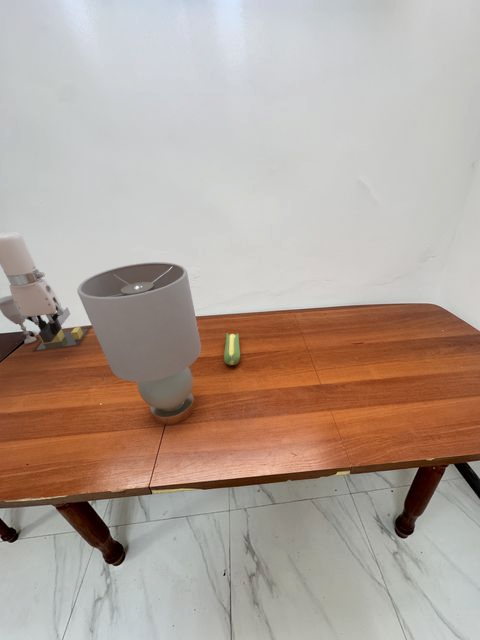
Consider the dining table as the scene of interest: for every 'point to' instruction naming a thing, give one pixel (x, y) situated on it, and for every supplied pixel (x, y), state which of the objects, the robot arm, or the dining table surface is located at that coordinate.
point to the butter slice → (77, 333)
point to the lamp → (147, 332)
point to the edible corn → (232, 349)
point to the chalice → (14, 315)
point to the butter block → (57, 337)
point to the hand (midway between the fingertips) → (52, 332)
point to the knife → (46, 332)
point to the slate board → (66, 341)
